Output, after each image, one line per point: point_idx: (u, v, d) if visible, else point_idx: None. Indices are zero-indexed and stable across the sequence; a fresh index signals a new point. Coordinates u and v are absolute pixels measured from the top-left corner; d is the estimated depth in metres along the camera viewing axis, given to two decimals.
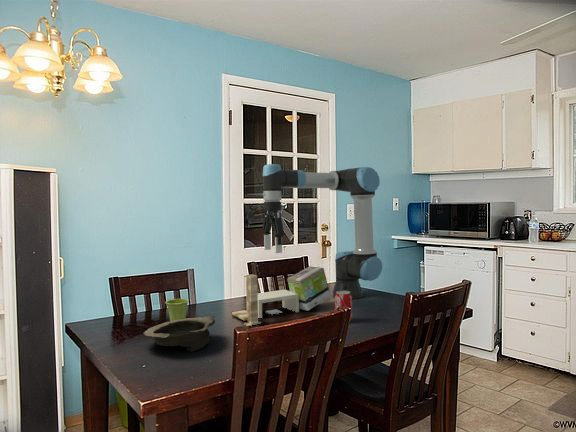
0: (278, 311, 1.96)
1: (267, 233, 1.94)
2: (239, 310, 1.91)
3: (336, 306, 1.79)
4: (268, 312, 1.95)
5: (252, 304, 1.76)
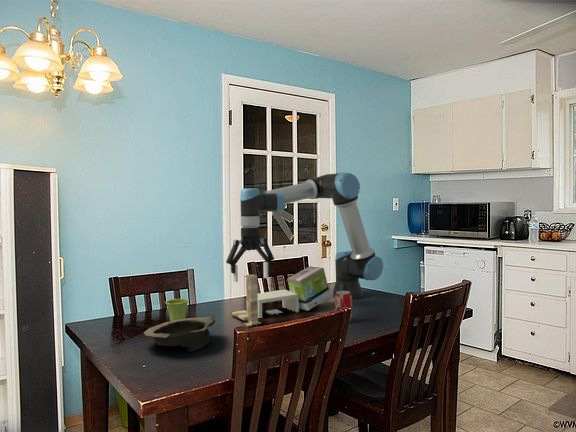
0: (278, 311, 1.96)
1: (266, 260, 1.81)
2: (239, 310, 1.91)
3: (336, 306, 1.79)
4: (268, 312, 1.95)
5: (252, 304, 1.76)
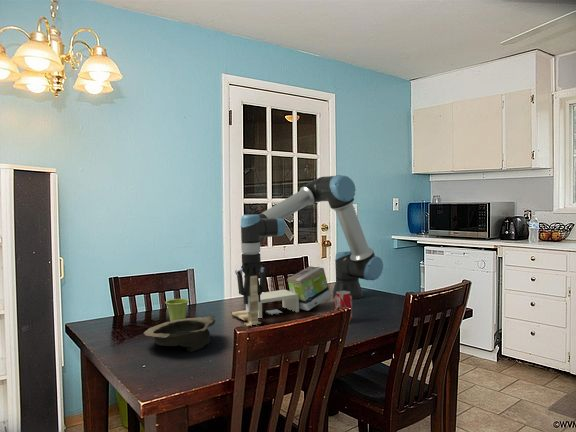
0: (278, 311, 1.96)
1: None
2: (239, 310, 1.91)
3: (336, 306, 1.79)
4: (268, 312, 1.95)
5: (252, 304, 1.76)
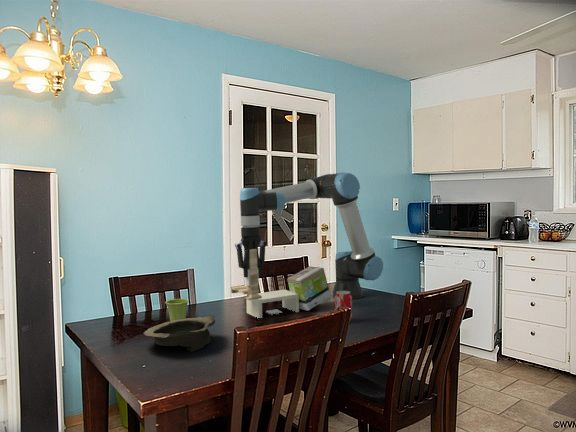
0: (278, 311, 1.96)
1: None
2: None
3: (336, 306, 1.79)
4: (268, 312, 1.95)
5: (252, 277, 1.76)
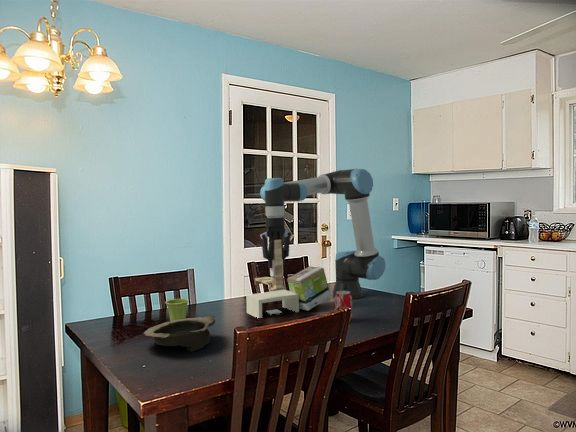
0: (278, 311, 1.96)
1: None
2: (262, 277, 1.90)
3: (336, 306, 1.79)
4: (268, 312, 1.95)
5: (277, 268, 1.75)
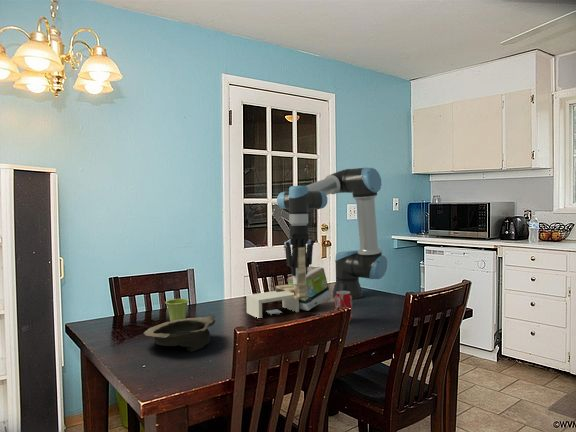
0: (278, 311, 1.96)
1: None
2: None
3: (336, 306, 1.79)
4: (268, 312, 1.95)
5: (300, 275, 1.74)
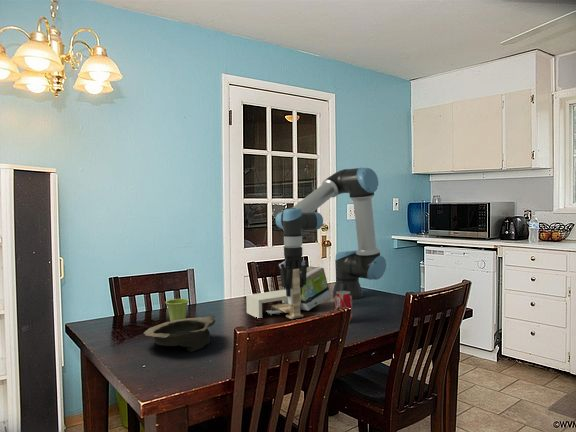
0: (278, 311, 1.96)
1: None
2: (278, 303, 1.94)
3: (336, 306, 1.79)
4: (268, 312, 1.95)
5: (295, 296, 1.79)
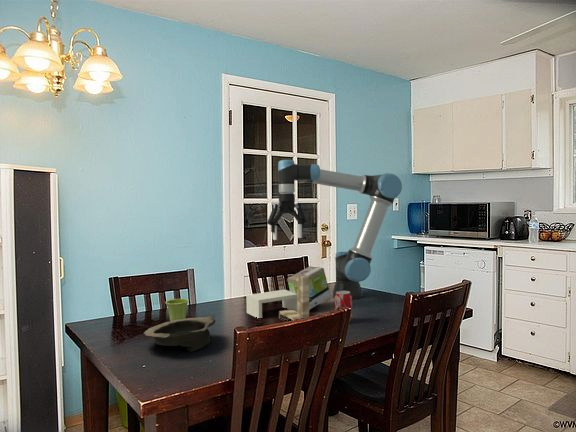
0: None
1: (300, 222, 2.10)
2: None
3: (336, 306, 1.79)
4: (282, 318, 1.85)
5: (304, 304, 1.73)
